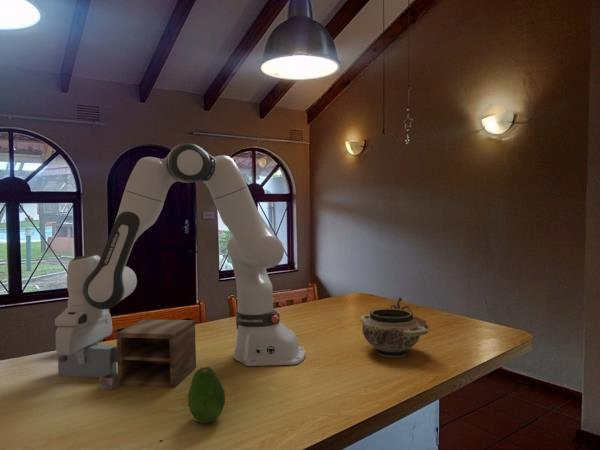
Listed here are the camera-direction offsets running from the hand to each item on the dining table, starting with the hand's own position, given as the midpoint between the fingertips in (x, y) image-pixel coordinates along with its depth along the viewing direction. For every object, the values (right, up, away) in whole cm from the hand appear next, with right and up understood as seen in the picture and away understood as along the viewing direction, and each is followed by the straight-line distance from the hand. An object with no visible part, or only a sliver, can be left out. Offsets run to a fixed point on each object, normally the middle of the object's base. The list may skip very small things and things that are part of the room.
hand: (87, 360), depth 123 cm
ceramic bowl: (+89, -2, +13) cm, 90 cm away
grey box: (+2, -4, -1) cm, 4 cm away
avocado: (+40, -5, -28) cm, 49 cm away
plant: (+98, -1, +43) cm, 107 cm away
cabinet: (+19, -4, -4) cm, 20 cm away
